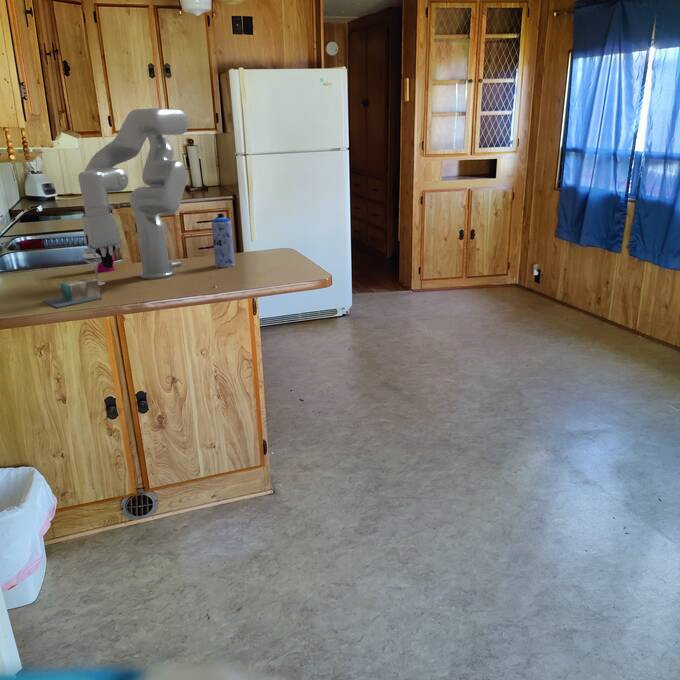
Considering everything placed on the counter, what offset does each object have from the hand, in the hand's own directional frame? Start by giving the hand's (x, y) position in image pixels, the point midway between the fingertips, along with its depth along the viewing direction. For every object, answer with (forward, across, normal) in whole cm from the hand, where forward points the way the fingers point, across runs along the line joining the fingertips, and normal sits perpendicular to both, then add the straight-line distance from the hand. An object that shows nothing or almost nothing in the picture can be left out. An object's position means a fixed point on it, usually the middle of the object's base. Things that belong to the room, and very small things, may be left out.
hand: (108, 267), depth 199 cm
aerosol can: (+10, -48, -4) cm, 49 cm away
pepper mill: (+10, -14, -35) cm, 39 cm away
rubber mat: (+8, +14, +1) cm, 16 cm away
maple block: (+5, +6, +1) cm, 8 cm away
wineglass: (+9, -2, -15) cm, 17 cm away
